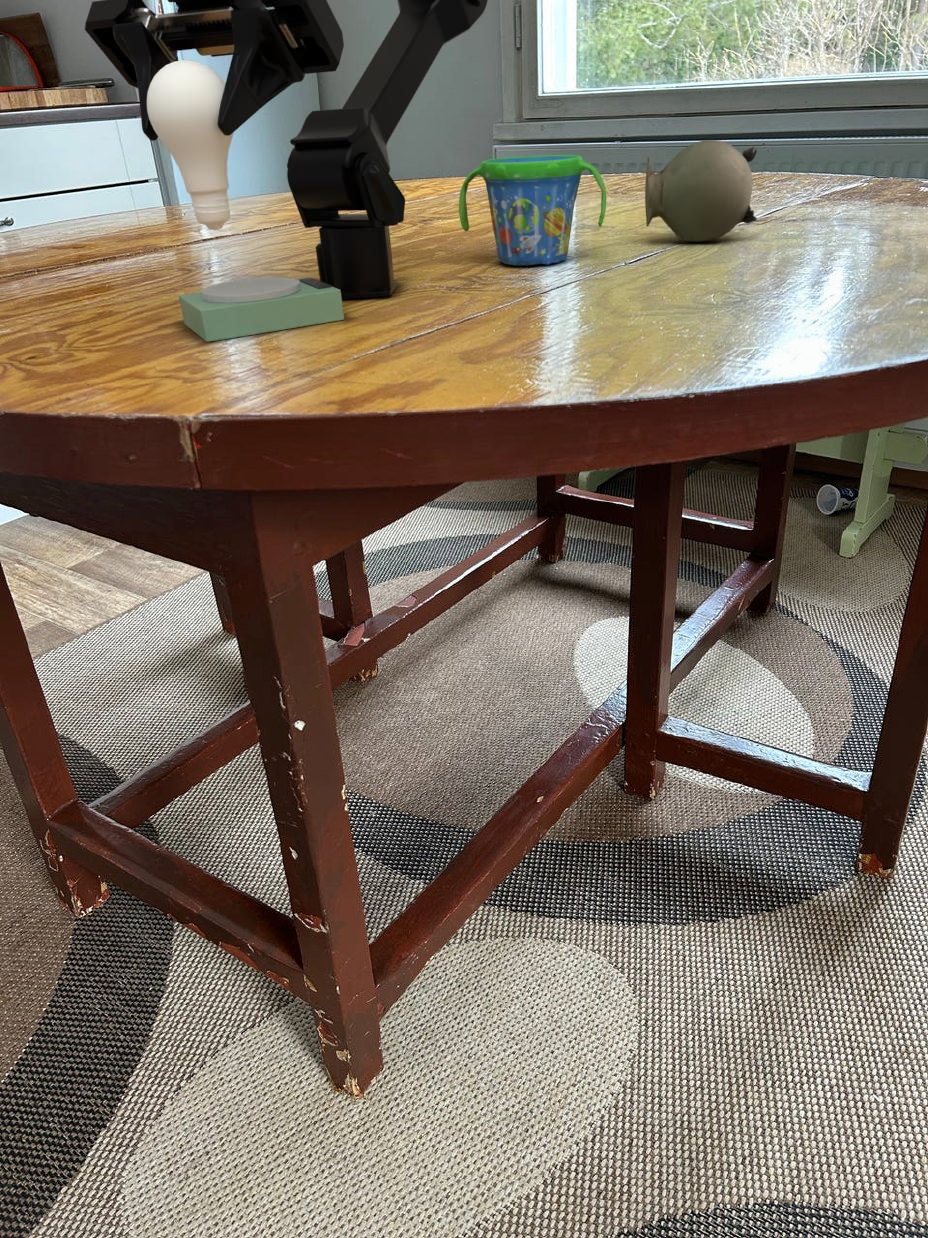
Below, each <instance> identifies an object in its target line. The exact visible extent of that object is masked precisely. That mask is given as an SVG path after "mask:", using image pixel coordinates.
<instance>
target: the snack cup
mask: <svg viewBox="0 0 928 1238" xmlns="http://www.w3.org/2000/svg"><path fill="white" fill-rule="evenodd" d="M586 170H588V171H589V172H590V173H591V174H592V177H593V179H595V182H596V184H597V186H598V187H599V189H600V192H601V197H600V199H601V200H600V214H599V218H598V221H597V222H598V223H597V225H598V227H599V228H601V227H602V226H603V222H604V219H605V215H606V210H607V209H606V207H607V206H606V205H607V191H606V185H605V182H604V179H603V177H602V175H601V173H600V172H599V171H598V169H597V168H596V167H595V166H593V165H592V164H590V163H589V162H586V161H584V159H583V156H581V155H578V154H577V155H576V154H555V155H553V154H552V155H550V154H549V155H547V154H545V155H528V156H527V155H526V156H525V155H524V156H509V157H499V158H490V159H486V160H483V161H481V163H480V165H479V167H477V168H475V169H473V170H472V171H471V172H469V174H468V175H467V176H466V177H465V179H464V181H463V182H462V186H461V189H460V192H459V197H458V214H459V222H460V224H461V228H462V229H463V232H467V233H468V232H469V230H470V222H469V217H468V206H467V192H468V189H469V184H470V183H471V182H472V181H473V180H474V179H475V178H476V177H477V176H481V177H482V179H483V180H484V182H485V186H486V187H485V189H486V193H487V198H488V199H487V200H488V206H489V211H490V218H491V224H492V225H491V226H492V231H493V235H494V239H495V240H494V241H495V245H496V246H495V247H496V248H495V249H496V254H497V258H498V261H499V262H502V263H503V264H505V265H509V266H536V265H550V264H557V263H560V262H562V261H565V260H567V257H568V253H569V249H570V239H571V233H572V226H573V219H574V210H575V204H576V200H577V196H578V191H579V186H580V182H581V179H582V178H581V177H582V173H583V171H586Z"/></svg>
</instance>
